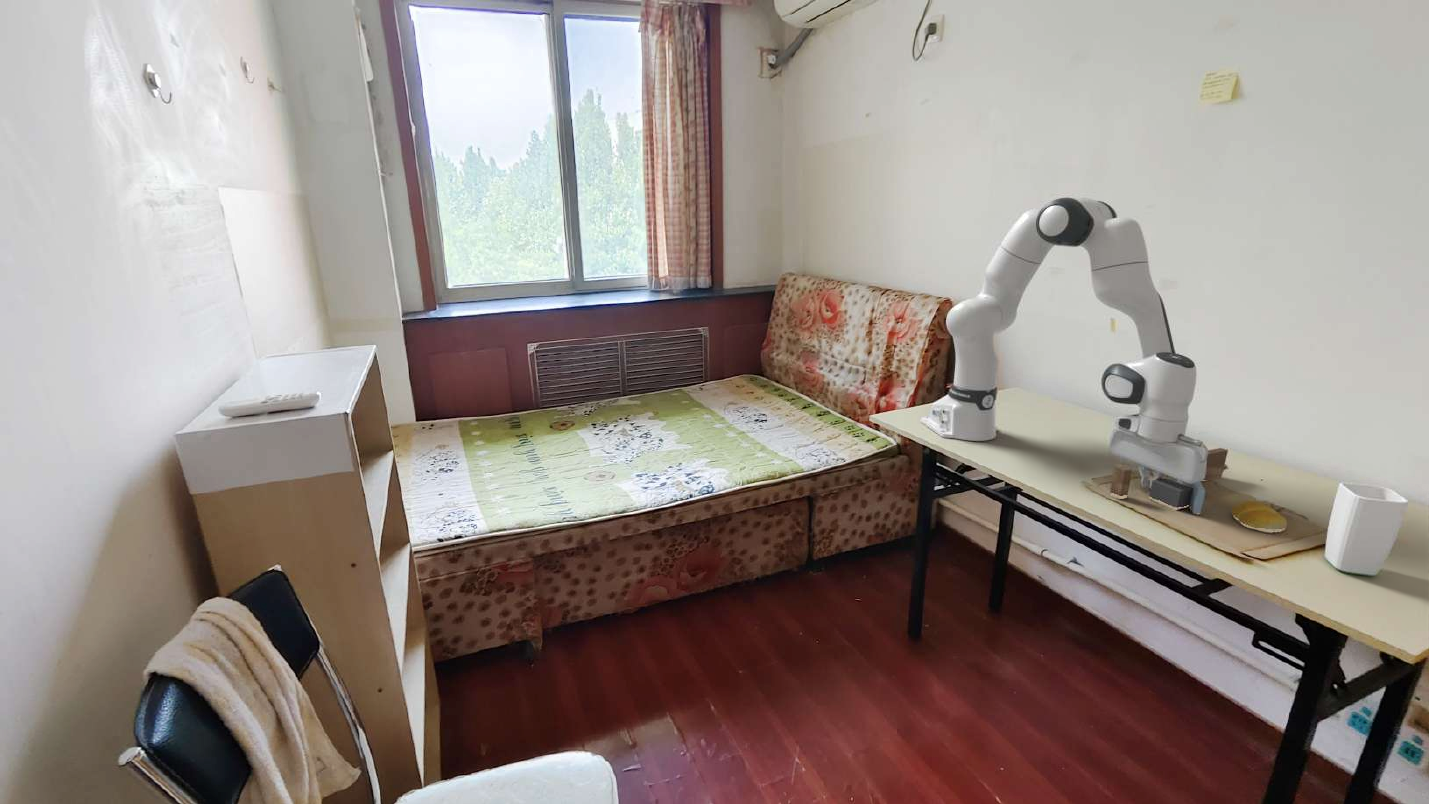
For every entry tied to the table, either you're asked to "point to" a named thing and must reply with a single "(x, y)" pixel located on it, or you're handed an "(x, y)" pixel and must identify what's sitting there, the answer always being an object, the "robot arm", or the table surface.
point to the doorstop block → (1171, 492)
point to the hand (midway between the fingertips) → (1148, 486)
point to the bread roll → (1259, 516)
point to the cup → (1363, 527)
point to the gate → (1195, 496)
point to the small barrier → (1213, 471)
